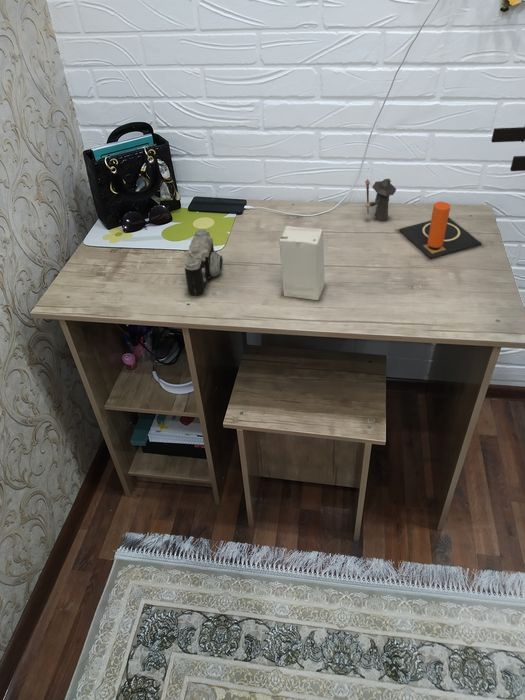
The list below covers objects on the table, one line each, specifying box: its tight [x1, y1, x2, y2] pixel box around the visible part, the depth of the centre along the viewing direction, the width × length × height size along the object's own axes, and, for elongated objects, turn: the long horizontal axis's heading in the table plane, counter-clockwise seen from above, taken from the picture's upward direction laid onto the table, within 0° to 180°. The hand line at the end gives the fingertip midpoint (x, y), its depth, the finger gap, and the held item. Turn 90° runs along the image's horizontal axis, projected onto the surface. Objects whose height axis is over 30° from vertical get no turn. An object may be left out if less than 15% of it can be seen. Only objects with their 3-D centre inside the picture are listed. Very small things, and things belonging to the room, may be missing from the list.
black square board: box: [398, 216, 482, 260], centre depth 140 cm, size 14×14×1 cm
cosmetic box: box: [278, 225, 325, 301], centre depth 122 cm, size 8×6×15 cm
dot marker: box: [427, 201, 451, 250], centre depth 132 cm, size 4×4×11 cm
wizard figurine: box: [364, 178, 397, 221], centre depth 144 cm, size 8×6×12 cm
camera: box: [183, 228, 224, 298], centre depth 129 cm, size 15×7×10 cm, turn 173°
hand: (502, 149), depth 115 cm, fingers open, 13 cm apart
